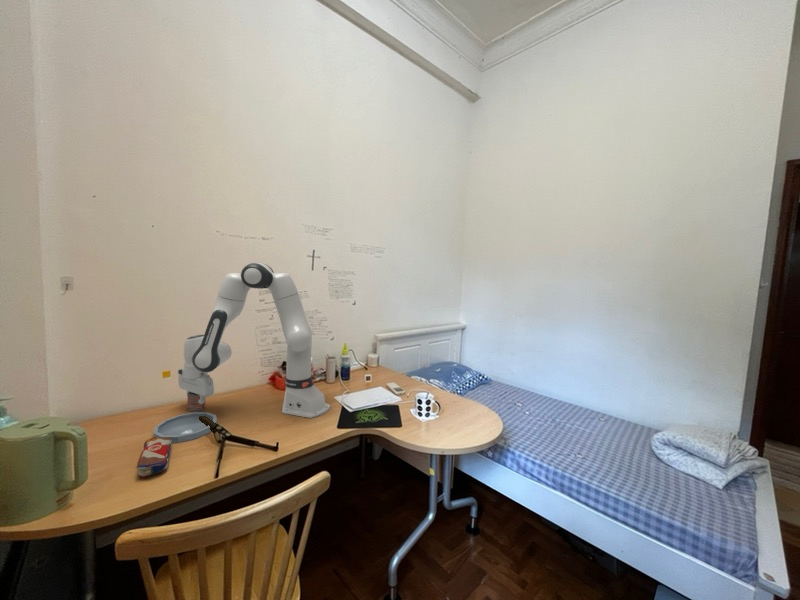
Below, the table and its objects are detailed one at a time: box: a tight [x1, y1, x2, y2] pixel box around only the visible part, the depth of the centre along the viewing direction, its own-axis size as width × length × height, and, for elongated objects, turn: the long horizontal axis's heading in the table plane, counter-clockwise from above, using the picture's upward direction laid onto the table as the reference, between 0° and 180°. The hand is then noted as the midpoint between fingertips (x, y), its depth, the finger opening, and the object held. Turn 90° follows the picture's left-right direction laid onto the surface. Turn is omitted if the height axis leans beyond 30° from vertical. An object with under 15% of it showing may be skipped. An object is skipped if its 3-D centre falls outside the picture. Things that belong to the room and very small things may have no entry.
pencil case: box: [136, 437, 172, 478], centre depth 99 cm, size 11×20×5 cm, turn 18°
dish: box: [152, 411, 218, 444], centre depth 120 cm, size 20×20×2 cm
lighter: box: [186, 392, 207, 412], centre depth 136 cm, size 8×3×10 cm, turn 85°
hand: (196, 401), depth 136 cm, fingers closed on lighter, 6 cm apart
